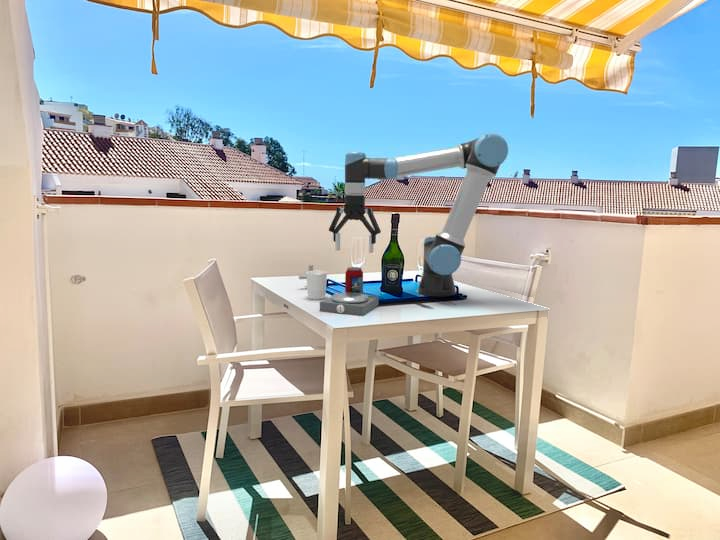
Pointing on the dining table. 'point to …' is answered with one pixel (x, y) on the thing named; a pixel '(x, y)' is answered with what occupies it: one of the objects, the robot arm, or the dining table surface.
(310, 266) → the pipe connector
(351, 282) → the beverage can
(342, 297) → the platter
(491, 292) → the dining table surface
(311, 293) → the white cup
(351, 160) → the robot arm
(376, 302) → the scale
